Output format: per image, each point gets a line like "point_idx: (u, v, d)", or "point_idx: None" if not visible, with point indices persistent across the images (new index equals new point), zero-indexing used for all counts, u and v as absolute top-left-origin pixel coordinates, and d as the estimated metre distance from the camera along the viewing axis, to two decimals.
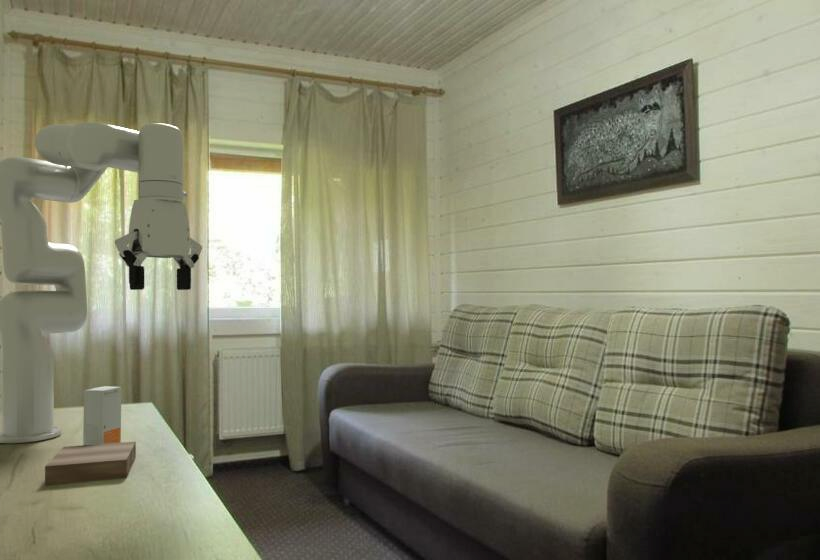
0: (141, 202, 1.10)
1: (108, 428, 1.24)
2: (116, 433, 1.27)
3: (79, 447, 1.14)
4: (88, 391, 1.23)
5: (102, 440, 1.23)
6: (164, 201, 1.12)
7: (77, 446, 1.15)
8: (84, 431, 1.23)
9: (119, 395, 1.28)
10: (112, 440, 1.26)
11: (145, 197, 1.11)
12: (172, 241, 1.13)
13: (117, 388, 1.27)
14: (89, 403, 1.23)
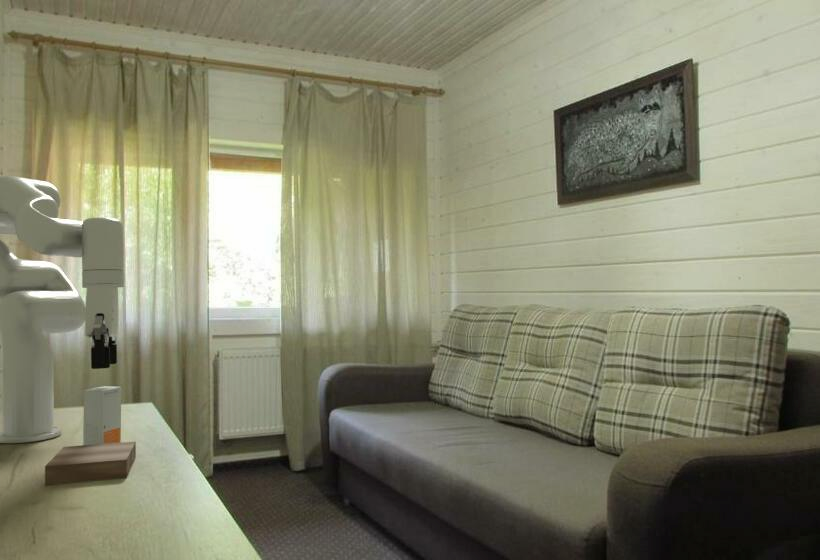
0: (103, 289, 1.22)
1: (108, 428, 1.24)
2: (116, 433, 1.27)
3: (79, 447, 1.14)
4: (88, 391, 1.23)
5: (102, 440, 1.23)
6: (116, 287, 1.26)
7: (77, 446, 1.15)
8: (84, 431, 1.23)
9: (119, 395, 1.28)
10: (112, 440, 1.26)
11: (104, 284, 1.23)
12: (117, 322, 1.28)
13: (117, 388, 1.27)
14: (89, 403, 1.23)
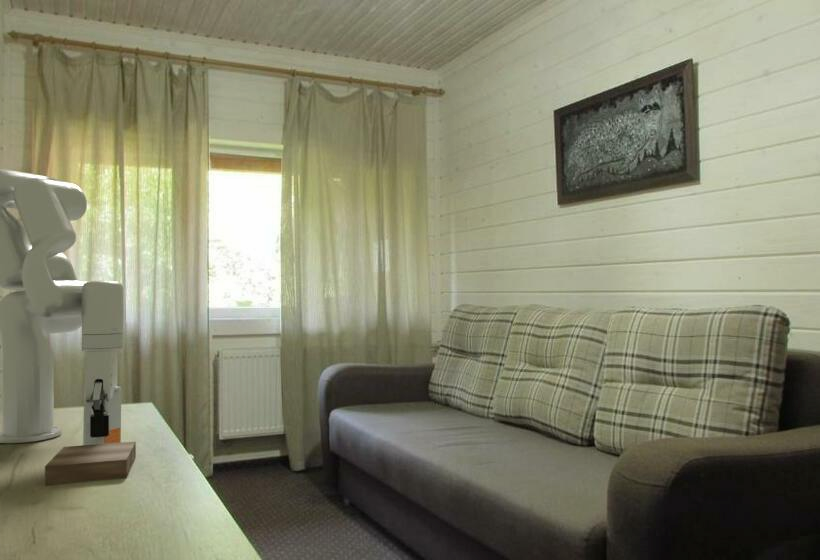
0: (103, 354, 1.22)
1: None
2: (116, 433, 1.27)
3: (79, 447, 1.14)
4: None
5: (103, 440, 1.23)
6: (115, 350, 1.26)
7: (77, 446, 1.15)
8: (84, 431, 1.23)
9: (119, 395, 1.28)
10: (112, 440, 1.26)
11: (103, 349, 1.23)
12: (116, 384, 1.27)
13: (117, 388, 1.27)
14: (89, 403, 1.23)
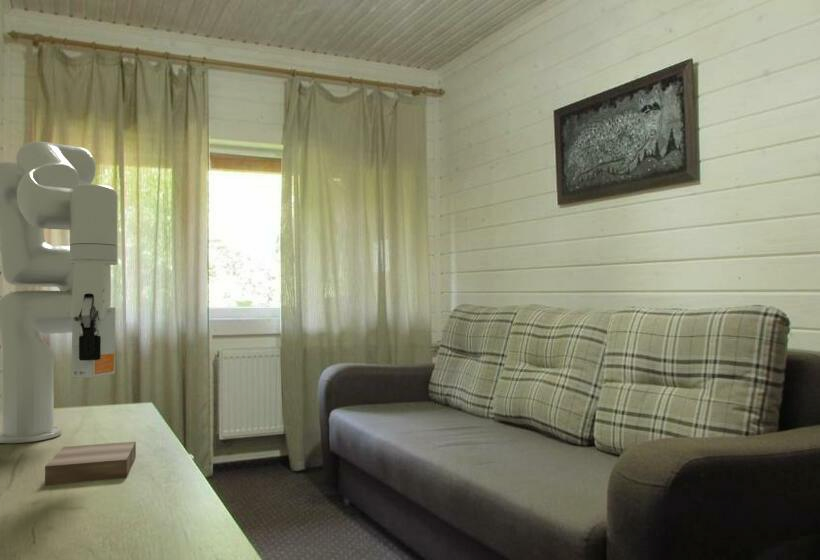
0: (93, 266, 1.07)
1: None
2: (109, 359, 1.11)
3: (79, 447, 1.14)
4: None
5: (94, 364, 1.08)
6: (108, 264, 1.10)
7: (77, 446, 1.15)
8: (73, 354, 1.08)
9: (113, 316, 1.13)
10: (105, 366, 1.10)
11: (94, 260, 1.08)
12: (109, 304, 1.12)
13: (111, 308, 1.12)
14: (78, 322, 1.08)
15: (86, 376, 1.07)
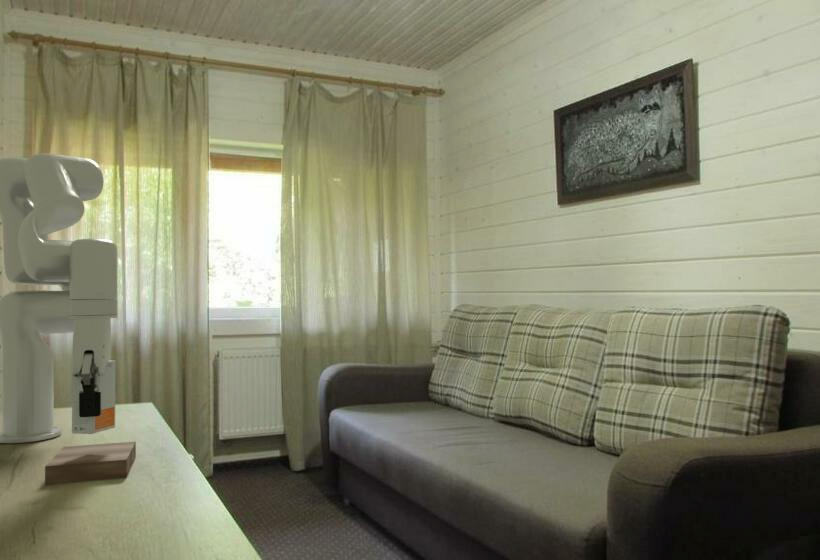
0: (93, 322, 1.07)
1: None
2: (110, 413, 1.11)
3: (79, 447, 1.14)
4: None
5: (94, 420, 1.07)
6: (108, 318, 1.10)
7: (77, 446, 1.15)
8: (73, 410, 1.08)
9: (113, 370, 1.12)
10: (105, 420, 1.10)
11: (94, 316, 1.07)
12: (109, 358, 1.12)
13: (111, 362, 1.12)
14: (78, 378, 1.08)
15: (86, 432, 1.07)
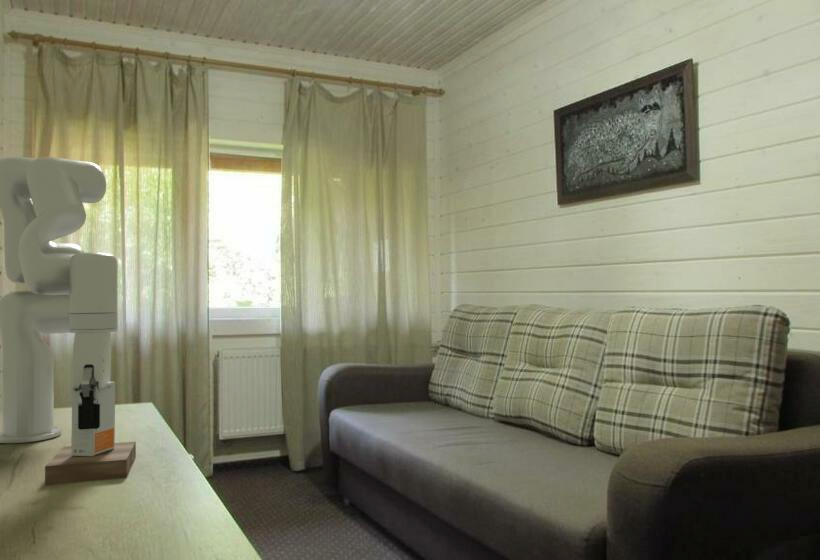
0: (93, 336, 1.06)
1: (100, 428, 1.09)
2: (109, 434, 1.11)
3: None
4: None
5: (94, 443, 1.07)
6: (108, 332, 1.10)
7: None
8: (72, 432, 1.08)
9: (113, 391, 1.12)
10: (105, 442, 1.10)
11: (94, 330, 1.07)
12: (109, 371, 1.12)
13: (110, 383, 1.12)
14: (78, 400, 1.08)
15: (86, 455, 1.07)
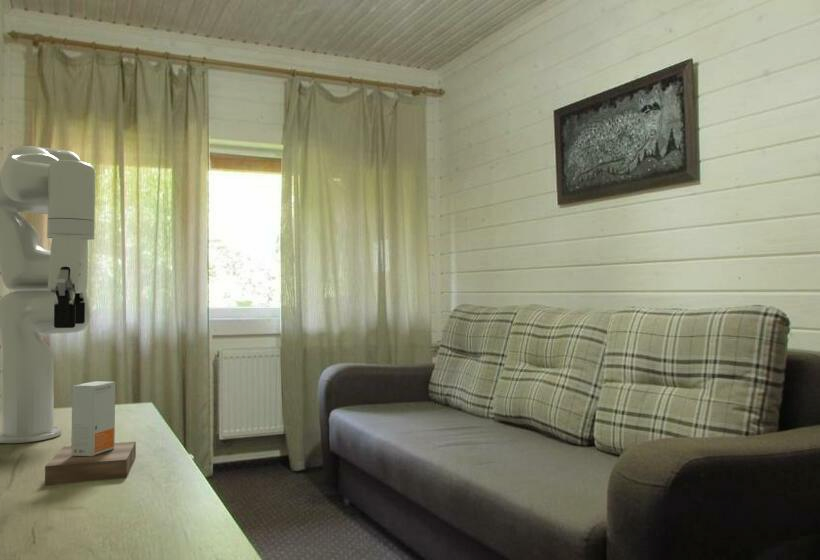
0: (70, 240, 1.10)
1: (100, 428, 1.09)
2: (109, 434, 1.11)
3: None
4: (77, 387, 1.08)
5: (94, 443, 1.07)
6: (85, 239, 1.14)
7: None
8: (72, 432, 1.08)
9: (113, 391, 1.12)
10: (105, 442, 1.10)
11: (71, 235, 1.11)
12: (85, 278, 1.16)
13: (110, 383, 1.12)
14: (78, 400, 1.08)
15: (86, 455, 1.07)
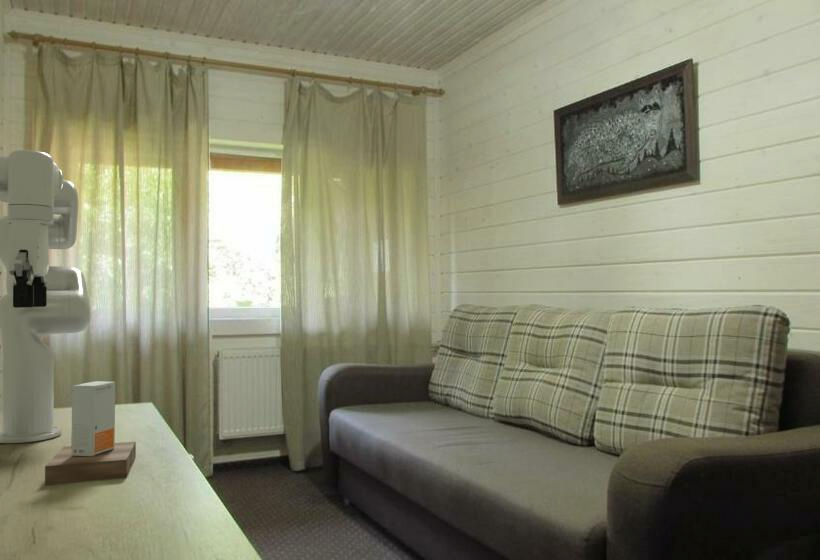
0: (28, 224, 1.16)
1: (100, 428, 1.09)
2: (109, 434, 1.11)
3: None
4: (77, 387, 1.08)
5: (94, 443, 1.07)
6: (43, 224, 1.20)
7: None
8: (72, 432, 1.08)
9: (113, 391, 1.12)
10: (105, 442, 1.10)
11: (29, 220, 1.17)
12: (45, 262, 1.21)
13: (110, 383, 1.12)
14: (78, 400, 1.08)
15: (86, 455, 1.07)
